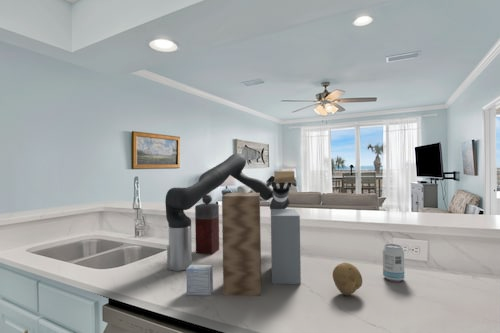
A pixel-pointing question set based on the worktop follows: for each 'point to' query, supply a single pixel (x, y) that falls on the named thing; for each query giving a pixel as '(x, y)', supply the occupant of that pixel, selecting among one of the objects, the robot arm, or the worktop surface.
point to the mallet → (283, 176)
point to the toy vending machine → (207, 226)
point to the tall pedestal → (241, 244)
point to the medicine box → (199, 279)
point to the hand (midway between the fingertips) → (282, 173)
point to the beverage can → (393, 262)
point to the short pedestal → (285, 246)
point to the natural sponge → (347, 278)
